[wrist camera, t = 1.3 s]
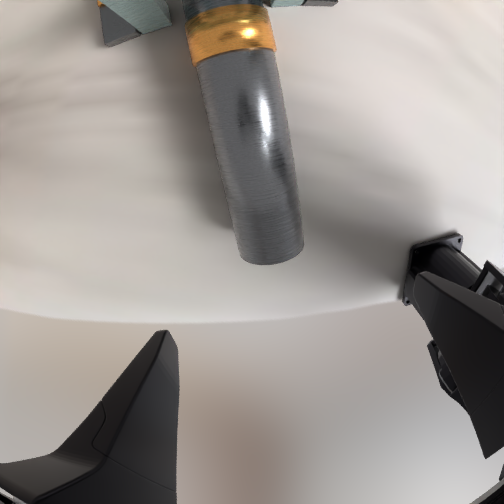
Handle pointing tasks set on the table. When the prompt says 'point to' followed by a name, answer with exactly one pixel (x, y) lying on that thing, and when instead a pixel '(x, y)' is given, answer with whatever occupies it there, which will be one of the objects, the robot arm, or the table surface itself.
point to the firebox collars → (155, 16)
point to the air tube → (247, 124)
